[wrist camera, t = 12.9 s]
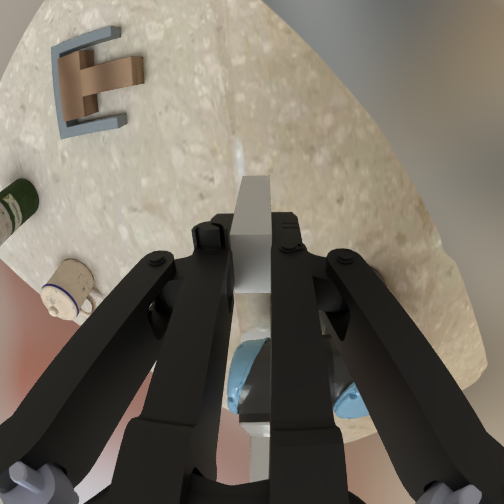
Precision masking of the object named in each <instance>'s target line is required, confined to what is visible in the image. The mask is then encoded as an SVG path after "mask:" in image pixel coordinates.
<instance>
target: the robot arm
mask: <svg viewBox="0 0 504 504" xmlns="http://www.w3.org/2000/svg"><path fill="white" fill-rule="evenodd" d="M192 237H193V243H194V252H193V254H192V255H191V256H189V257H185V258H180V259H175V260H174V256H173V254H172V253H171V252H168V251H154V252H152V253H149V254H147V255H146V256H145V257H143V258H142V259H141V260H140V261H139V262H138V263H137V264H136V265H135V266H134V268H133V269H132V270H131V271H130V272H129V273H128V274H127V275H126V276H125V277H124V278H123V279H122V280H121V281H120V283H119V284H118V285H117V286H116V287H115V288H114V289H113V290H112V291H111V292H110V294H109V295H108V296H107V297H106V298H105V299H104V300H103V301H102V302H101V304H100V305H99V306H98V307H97V308H96V309H95V310H94V312H93V313H92V314H91V315H90V316H89V317H88V319H87V320H86V321H85V322H84V323H83V324H82V326H81V327H80V328H79V329H78V330H77V331H76V333H75V334H74V335H73V336H72V338H71V339H70V340H69V341H68V342H67V344H66V345H65V346H64V347H63V348H62V350H61V351H60V353H59V354H58V355H57V356H56V357H55V358H54V360H53V361H52V362H51V364H50V365H49V366H48V368H47V369H46V370H45V371H44V373H43V374H42V375H41V377H40V378H39V379H38V381H37V382H36V383H35V385H34V386H33V387H32V389H31V390H30V391H29V393H28V394H27V395H26V397H25V398H24V400H23V401H22V402H21V404H20V405H19V407H18V408H17V410H16V411H15V412H14V414H13V415H12V416H11V417H10V418H8V419H7V420H6V421H5V422H3V423H2V424H1V425H0V497H1V499H2V501H3V503H4V504H78V503H79V497H78V495H77V493H76V492H75V491H74V488H75V487H76V486H77V485H78V484H79V483H80V482H81V481H82V480H83V479H84V478H85V476H86V475H87V474H88V473H89V472H90V470H91V469H92V467H93V466H94V464H95V462H96V461H97V459H98V457H99V456H100V454H101V452H102V451H103V449H104V447H105V445H106V443H107V442H108V440H109V438H110V437H111V435H112V433H113V432H114V430H115V428H116V427H117V425H118V423H119V421H120V420H121V418H122V416H123V415H124V413H125V411H126V410H127V408H128V406H129V405H130V403H131V401H132V400H133V398H134V396H135V394H136V393H137V391H138V390H139V388H140V386H141V385H142V383H143V381H144V380H145V378H146V376H147V375H148V373H149V371H150V370H151V368H152V367H153V365H154V363H155V362H156V360H157V362H156V365H155V368H154V372H153V375H152V378H151V382H150V385H149V389H148V393H147V396H146V400H145V403H144V406H143V410H142V412H141V414H140V415H139V417H135V418H132V419H131V420H130V421H129V422H128V424H127V426H126V429H125V432H124V435H123V439H122V442H121V446H120V450H119V454H118V458H117V462H116V466H115V470H114V474H113V478H112V482H111V484H110V485H109V486H107V487H106V488H105V489H103V490H102V491H101V492H99V493H98V494H97V495H95V496H94V497H92V498H91V499H90V500H88V501H87V502H85V503H84V504H366V503H365V502H364V501H362V500H361V499H360V498H359V497H357V496H356V495H354V494H353V493H351V492H349V491H348V485H347V474H346V463H345V453H344V443H343V438H342V433H341V430H340V428H339V427H337V426H336V425H335V422H334V416H333V410H334V412H335V413H336V415H337V416H338V417H340V418H347V419H354V418H359V417H363V416H367V415H370V416H371V419H372V421H373V423H374V425H375V427H376V429H377V431H378V433H379V436H380V438H381V440H382V442H383V444H384V446H385V449H386V451H387V453H388V455H389V457H390V460H391V462H392V464H393V466H394V468H395V471H396V473H397V475H398V477H399V479H400V480H401V482H402V484H403V486H404V487H405V489H406V490H407V492H408V493H409V495H410V496H411V497H412V498H413V499H414V500H415V502H416V503H415V504H504V447H503V446H502V445H501V444H500V443H499V442H497V441H496V440H495V439H494V438H493V437H492V436H491V435H489V434H488V433H487V432H486V430H485V428H484V427H483V425H482V423H481V422H480V420H479V418H478V417H477V415H476V413H475V411H474V410H473V408H472V407H471V405H470V403H469V402H468V400H467V399H466V397H465V395H464V394H463V392H462V391H461V389H460V388H459V386H458V384H457V383H456V381H455V380H454V378H453V377H452V375H451V374H450V372H449V371H448V369H447V368H446V366H445V365H444V364H443V362H442V361H441V359H440V358H439V356H438V355H437V353H436V352H435V351H434V349H433V348H432V346H431V345H430V344H429V342H428V341H427V339H426V338H425V337H424V335H423V334H422V333H421V331H420V330H419V328H418V327H417V326H416V324H415V323H414V322H413V320H412V319H411V318H410V316H409V315H408V314H407V313H406V311H405V310H404V309H403V307H402V306H401V305H400V303H399V302H398V301H397V300H396V298H395V297H394V296H393V295H392V293H391V292H390V291H389V290H388V288H387V286H386V284H385V281H384V279H383V277H382V275H381V274H380V273H379V272H378V271H377V270H375V269H374V268H372V267H370V266H369V265H368V264H367V263H366V262H365V260H364V259H363V258H362V257H361V256H360V255H359V254H358V253H357V252H354V251H352V250H350V249H344V248H342V249H335V250H332V251H330V252H329V253H328V255H327V258H326V257H321V256H317V255H314V254H311V253H309V252H308V251H307V248H306V246H305V244H303V243H302V238H301V233H300V228H299V224H298V218H297V216H296V215H294V214H293V213H292V212H271V194H270V176H243V177H242V181H241V186H240V190H239V194H238V199H237V203H236V208H235V212H234V214H217V215H215V216H214V217H213V218H212V219H211V221H208V222H203V223H200V224H198V225H196V226H194V227H193V229H192ZM233 290H235V293H271V339H270V338H265V339H260V340H249V341H245V342H243V343H241V344H240V345H239V346H238V347H237V349H236V351H235V353H234V355H233V358H232V361H231V365H230V370H229V377H228V385H227V395H228V408H229V410H230V411H231V412H233V413H235V414H239V425H240V426H242V428H244V429H245V430H246V431H247V432H248V434H249V435H250V483H246V484H240V485H232V486H231V485H226V484H222V483H219V482H216V479H217V466H216V449H217V441H218V432H219V423H220V415H221V406H222V397H223V389H224V380H225V372H226V364H227V355H228V347H229V339H230V331H231V323H232V315H233V307H234V295H233ZM151 303H152V305H151ZM150 305H151V306H150ZM149 307H150V308H149ZM322 332H323V334H324V335H322Z"/></svg>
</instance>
